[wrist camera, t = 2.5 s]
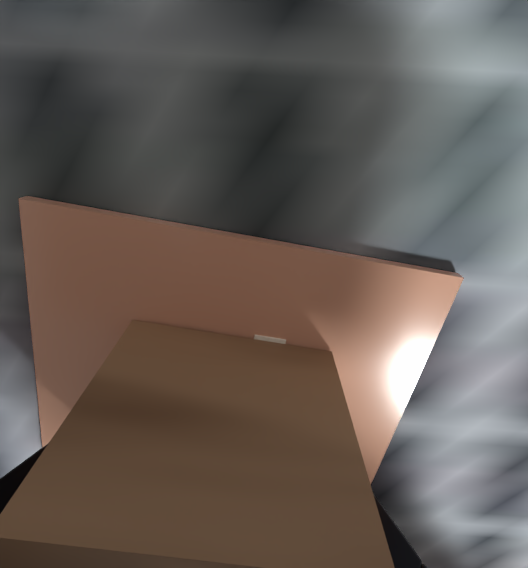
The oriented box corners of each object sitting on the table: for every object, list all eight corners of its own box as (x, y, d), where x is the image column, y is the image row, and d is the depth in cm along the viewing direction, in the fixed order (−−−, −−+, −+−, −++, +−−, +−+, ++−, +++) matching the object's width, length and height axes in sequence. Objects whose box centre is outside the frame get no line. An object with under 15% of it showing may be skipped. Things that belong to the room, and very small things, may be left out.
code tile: (344, 531, 13) (346, 542, 12) (52, 495, 12) (46, 506, 12) (457, 273, 9) (465, 278, 8) (27, 195, 8) (16, 198, 8)
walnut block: (290, 483, 11) (306, 737, 6) (127, 462, 11) (24, 713, 6) (331, 351, 9) (398, 582, 4) (132, 319, 9) (-15, 536, 4)
